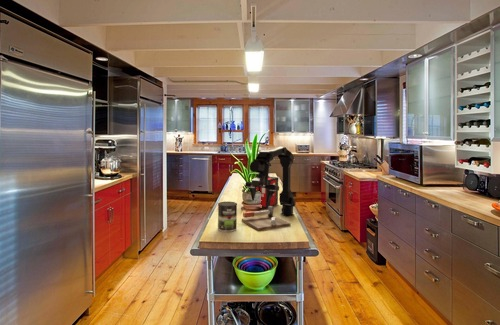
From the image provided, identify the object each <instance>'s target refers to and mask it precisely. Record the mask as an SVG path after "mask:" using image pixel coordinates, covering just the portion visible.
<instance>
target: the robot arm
mask: <svg viewBox="0 0 500 325" xmlns="http://www.w3.org/2000/svg"><path fill="white" fill-rule="evenodd" d="M258 152H259V153H258V154H257V156H256V157H255V158H254V159H253V161H251V162H250V164H249V170H250V171H251V172H252V173H257V174H256V177H253V179H251V181H246V182H245V184H244V186H245V187H247V188H246V189H248V190H249V192H250V195H251V201H252V202H253V201H255V199H256V187H261V188H268V189H269V190H267V191H268V196H267V203H269V201H270V199H271V197H272V196H273V194H274V193H275V192H277V191H276V190H278V192H279V191H280V186H279V184H278V185H271V184H269V183H268V178H269V177H270V167H272V164H271V162H272V161H273V160H274V158H275V157H277V158H278V159H279V165H280V166H281V168H282V190H281V192H280V193H278V200H279V204H280V206H282V207H281V213H280V215H282V216H284V217H291V216H292V217H293V216H295V214H294V207H295V206H296V204H297V203H296V200H295V199H294V194H293V192H292V190H291V167H292V165H293V164H294V160H295V156H294V154H293V153H292V152H291V151H290V150H288V148H287V147H285V146H277V147H276V148H273V149H272V148H271V149H270V150H260V151H258ZM260 185H261V186H260ZM263 185H265V186H264V187H263Z"/></svg>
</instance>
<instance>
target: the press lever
mask: <svg viewBox="0 0 500 325" xmlns="http://www.w3.org/2000/svg"><path fill="white" fill-rule="evenodd" d="M264 215H268V217H273V215H274V207H273V206H268V209H263V210H259V211H256V210H255V211H253V210H250V211H243V212H242V217H243V218H250V217H256V216H264Z"/></svg>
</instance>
